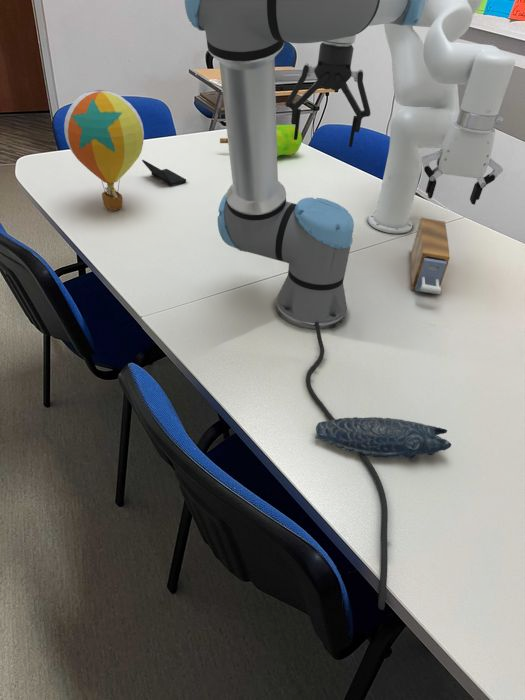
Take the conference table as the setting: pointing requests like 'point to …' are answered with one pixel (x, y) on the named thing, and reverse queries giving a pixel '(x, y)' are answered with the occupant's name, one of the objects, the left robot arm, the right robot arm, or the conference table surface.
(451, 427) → the conference table surface
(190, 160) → the conference table surface
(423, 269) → the drawer
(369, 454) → the fish model
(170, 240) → the conference table surface
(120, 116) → the toy
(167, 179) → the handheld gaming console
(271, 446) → the conference table surface
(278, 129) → the decorative tree
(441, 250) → the tan wooden box
